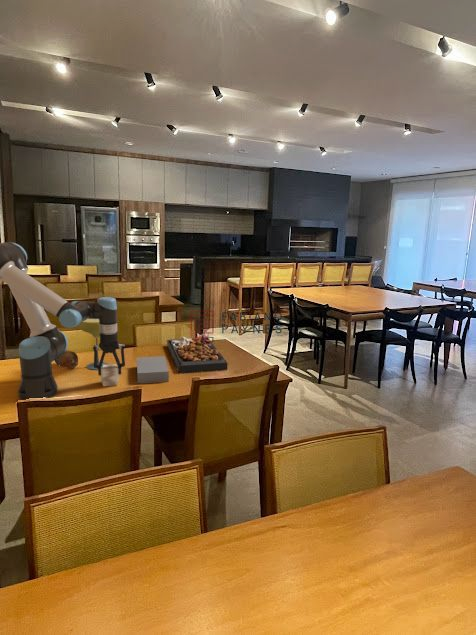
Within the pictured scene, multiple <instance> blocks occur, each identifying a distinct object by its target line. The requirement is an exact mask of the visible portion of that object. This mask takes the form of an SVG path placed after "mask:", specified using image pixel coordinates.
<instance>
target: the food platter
mask: <svg viewBox="0 0 476 635" xmlns="http://www.w3.org/2000/svg"><path fill="white" fill-rule="evenodd" d="M209 333H210V332H209V331H207V335H206V334H205V333H202V334H201V335H199V334H198V332H197V334H196V337H194V338H191V337H190V338H188V337H185V336H180V337H178V338H175V339H173V338H172V339H167V340H166V345H167V346H166V347H167V349H168V351H169V354H170V355H171V359H172V360H173V362H174V364H175V367H176V369H177V371H178V374H188V373H202V372H201V371H204V372H214V371H213V370H218V371H227V370H228V364H229V363H228V361H227V360H226V359H225V358H224V357H223V355H222V354H221V352H219V349H217V348H216V346H215V345H214V344H213V343H212V342H211V339H210V338H209Z"/></svg>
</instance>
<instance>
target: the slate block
mask: <svg viewBox="0 0 476 635" xmlns="http://www.w3.org/2000/svg"><path fill="white" fill-rule="evenodd" d="M167 364H168V363H167V360H166V356H164V355H163V356H159V355H158V356H142V357H139V356H138V357H136V372H137V377H136V378H137V384H151V383H167V382H169V381H170V378H169V377H170V376H169V375H170V374H169V373H170V372H169V368H168V365H167Z"/></svg>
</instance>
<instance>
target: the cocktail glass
mask: <svg viewBox="0 0 476 635" xmlns="http://www.w3.org/2000/svg"><path fill="white" fill-rule="evenodd" d="M76 327H77V329H79V330H80V331H82V332H85V333H87V334H90V335H92V336H93V338H94V339H95V342H96V344H95V345H99V344H98V343H99V342H98V341H99V340H98V339H100V333H101V332H100V330H99V319H86V320H85V321H83V322H82V323H80V324H79V325H78V326H76ZM99 362H100V358H99V349H98V350H97V364H98V365H99ZM108 364H109V363H108V362H106V361H105V362H104V361H103V363H102V366H101V367H103V365H108ZM86 369H88V370H92V371H98V368H94V362H91V363H89V364H86Z"/></svg>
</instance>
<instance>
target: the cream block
mask: <svg viewBox="0 0 476 635" xmlns="http://www.w3.org/2000/svg"><path fill="white" fill-rule="evenodd" d="M117 367H118V366H117V363H111V364H110V363H108V365H103V368H102V374H103V383H102V387H112V386H113V387H115V386H118V382H117Z"/></svg>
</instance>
